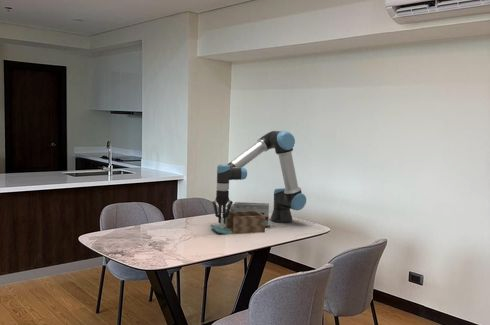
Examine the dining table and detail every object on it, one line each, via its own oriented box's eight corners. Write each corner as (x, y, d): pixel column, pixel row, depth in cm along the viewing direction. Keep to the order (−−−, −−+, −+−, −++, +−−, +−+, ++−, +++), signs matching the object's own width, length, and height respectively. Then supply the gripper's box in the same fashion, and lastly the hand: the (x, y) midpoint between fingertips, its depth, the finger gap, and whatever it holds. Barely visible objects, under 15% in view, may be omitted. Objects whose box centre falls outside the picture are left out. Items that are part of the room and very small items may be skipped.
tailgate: (225, 227, 280) (210, 224, 276) (233, 233, 265) (217, 230, 261) (224, 229, 280) (210, 226, 276) (232, 235, 265) (217, 232, 261)
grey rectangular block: (223, 223, 299) (223, 201, 298) (268, 225, 296) (268, 203, 295) (221, 226, 291) (222, 203, 290) (267, 228, 288) (268, 205, 287)
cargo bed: (255, 228, 286) (255, 210, 286) (264, 234, 271) (265, 215, 270) (225, 230, 280) (226, 212, 279) (233, 236, 265) (234, 217, 264)
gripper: (231, 188, 274) (229, 226, 276) (210, 189, 270) (209, 227, 271) (234, 190, 267) (233, 229, 269) (213, 191, 263) (212, 230, 264)
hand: (221, 228), depth 270 cm, fingers closed
